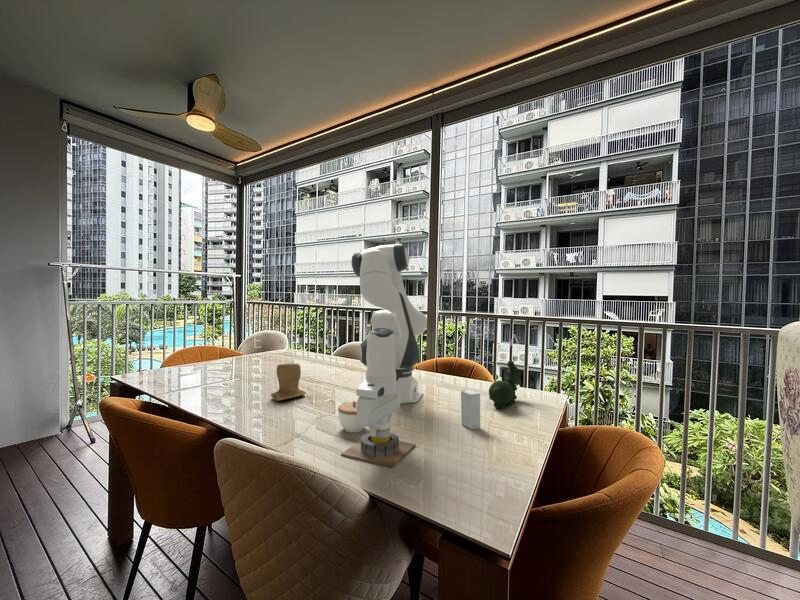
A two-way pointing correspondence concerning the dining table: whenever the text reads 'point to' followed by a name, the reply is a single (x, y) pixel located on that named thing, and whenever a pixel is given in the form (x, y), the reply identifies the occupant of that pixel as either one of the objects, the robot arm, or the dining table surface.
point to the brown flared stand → (288, 382)
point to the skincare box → (470, 409)
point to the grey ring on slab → (379, 451)
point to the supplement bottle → (382, 431)
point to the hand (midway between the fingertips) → (380, 431)
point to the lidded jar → (349, 417)
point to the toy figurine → (504, 389)
